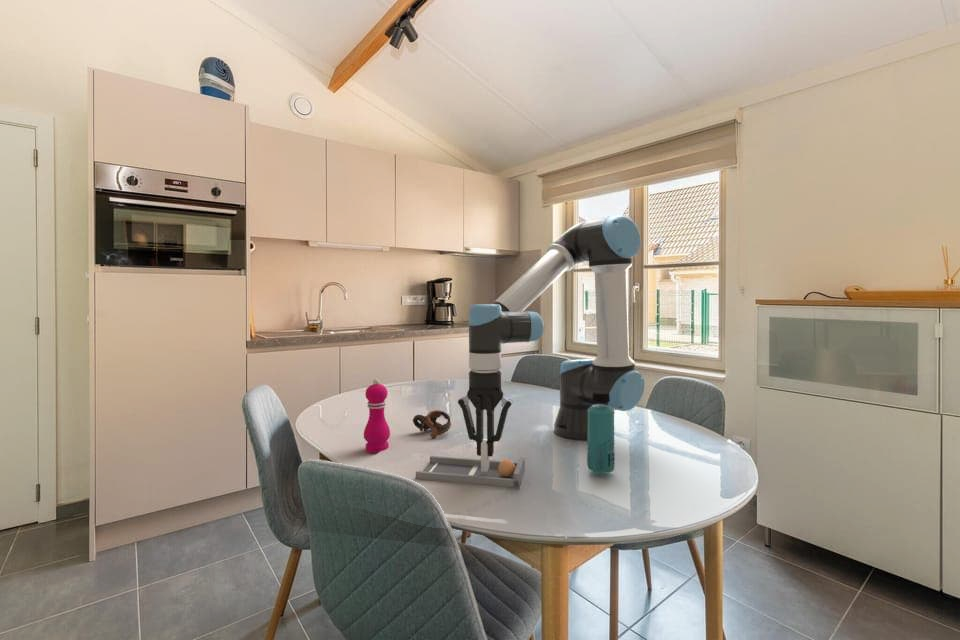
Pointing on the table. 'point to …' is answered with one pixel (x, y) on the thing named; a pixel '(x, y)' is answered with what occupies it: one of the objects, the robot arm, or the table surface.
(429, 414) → the brown pretzel knot
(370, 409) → the pepper mill
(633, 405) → the robot arm
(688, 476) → the table surface
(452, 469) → the lane
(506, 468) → the ball
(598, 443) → the beverage bottle
